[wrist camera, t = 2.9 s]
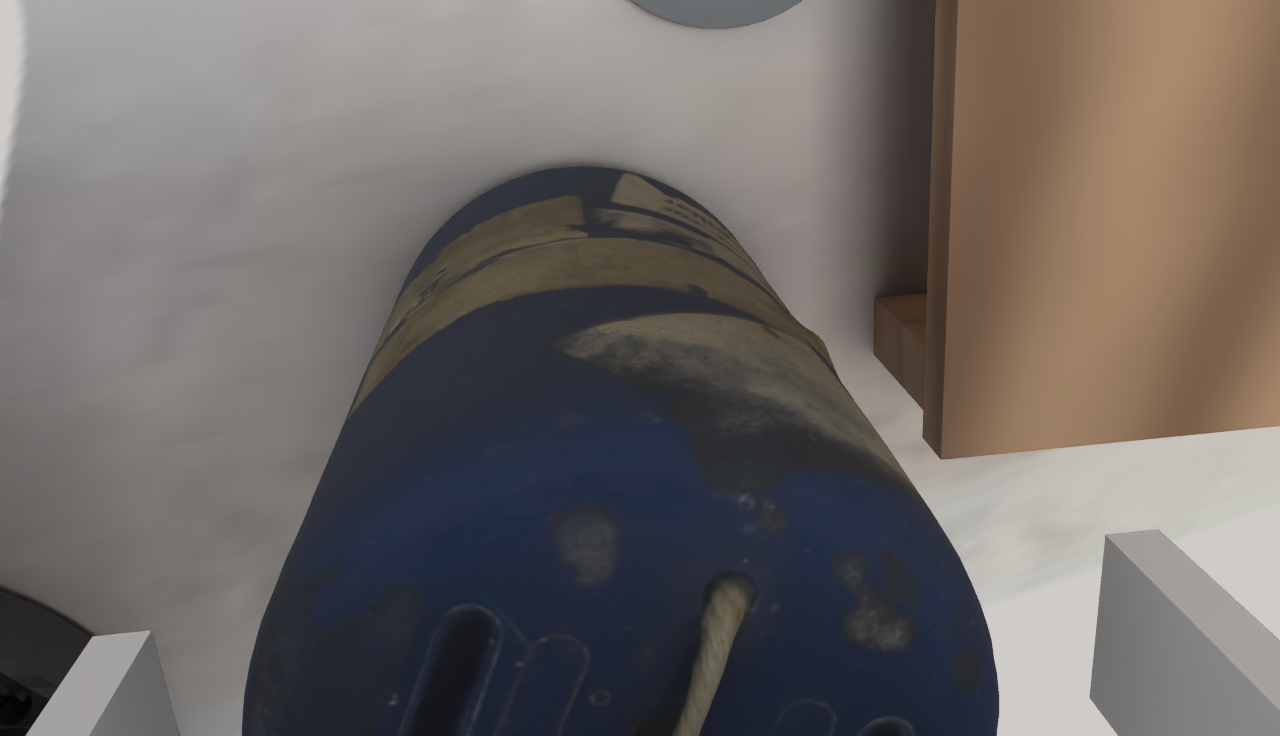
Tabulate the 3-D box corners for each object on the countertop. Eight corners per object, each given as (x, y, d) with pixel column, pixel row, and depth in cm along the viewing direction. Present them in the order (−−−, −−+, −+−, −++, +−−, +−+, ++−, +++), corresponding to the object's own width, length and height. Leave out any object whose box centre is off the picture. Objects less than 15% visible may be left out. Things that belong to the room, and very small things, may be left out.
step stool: (862, 365, 29) (941, 459, 24) (867, -168, 25) (965, -207, 19) (1321, 322, 30) (1501, 403, 25) (1407, -201, 26) (1654, -248, 20)
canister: (833, 286, 28) (1267, 746, 12) (630, 558, 31) (749, 1272, 14) (523, 76, 26) (505, 277, 9) (326, 389, 28) (21, 1014, 11)
